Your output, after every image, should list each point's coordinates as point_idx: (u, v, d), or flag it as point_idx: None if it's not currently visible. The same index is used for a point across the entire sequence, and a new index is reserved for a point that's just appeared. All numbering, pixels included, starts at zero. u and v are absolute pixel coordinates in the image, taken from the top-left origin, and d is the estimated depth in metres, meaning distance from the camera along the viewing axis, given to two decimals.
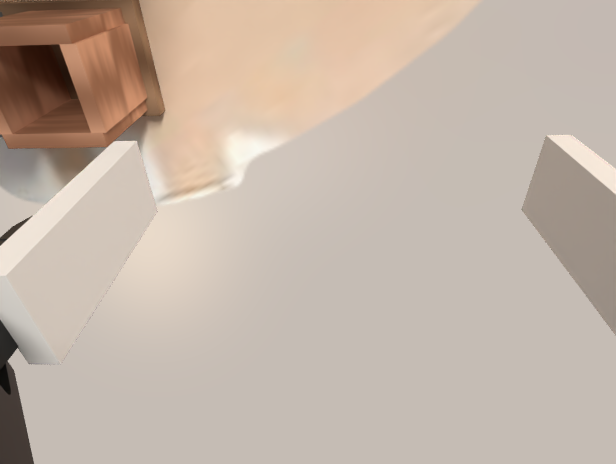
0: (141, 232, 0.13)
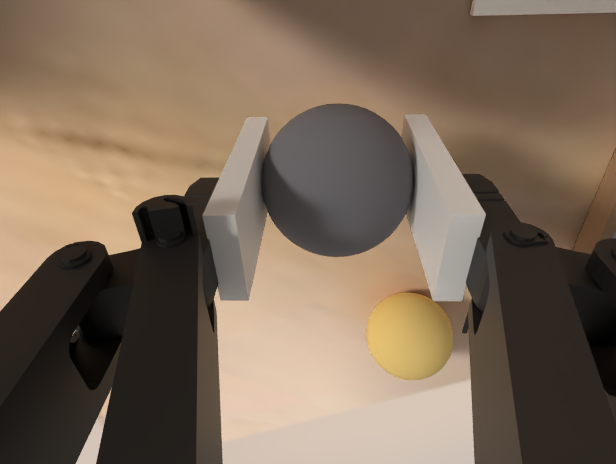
0: None
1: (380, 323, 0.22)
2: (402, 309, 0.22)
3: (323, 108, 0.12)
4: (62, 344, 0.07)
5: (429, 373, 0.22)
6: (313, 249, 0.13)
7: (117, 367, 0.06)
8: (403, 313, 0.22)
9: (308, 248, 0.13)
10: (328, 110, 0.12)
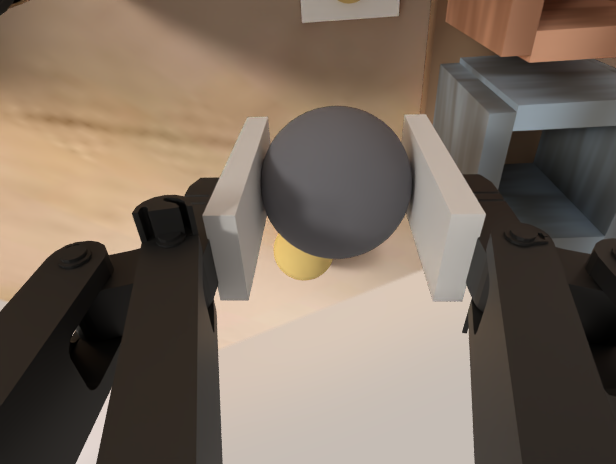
0: None
1: (279, 240, 0.32)
2: None
3: (322, 110, 0.12)
4: (63, 344, 0.07)
5: (314, 272, 0.31)
6: (312, 251, 0.13)
7: (117, 367, 0.06)
8: None
9: (307, 250, 0.13)
10: (326, 112, 0.12)
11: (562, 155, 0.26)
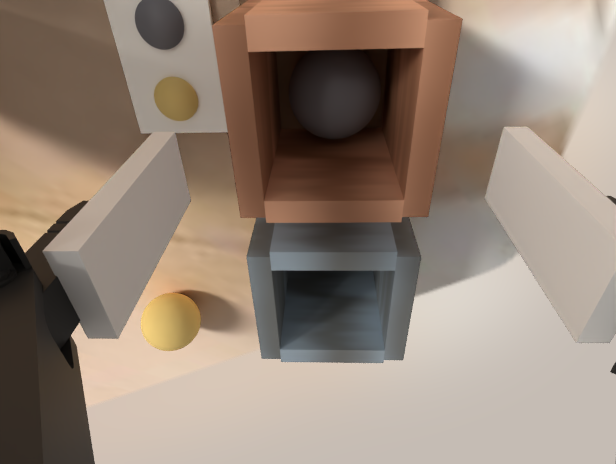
0: (178, 219, 0.14)
1: (143, 314, 0.34)
2: (156, 304, 0.34)
3: None
4: None
5: (173, 346, 0.34)
6: (324, 129, 0.21)
7: None
8: (155, 307, 0.34)
9: (321, 129, 0.21)
10: None
11: None
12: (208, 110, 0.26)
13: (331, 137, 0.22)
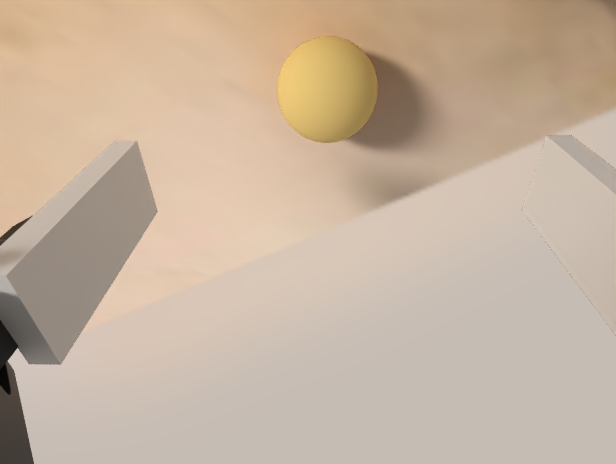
0: (141, 232, 0.13)
1: (288, 62, 0.19)
2: (313, 41, 0.18)
3: None
4: None
5: (345, 116, 0.18)
6: None
7: None
8: (313, 43, 0.18)
9: None
10: None
11: None
12: None
13: None
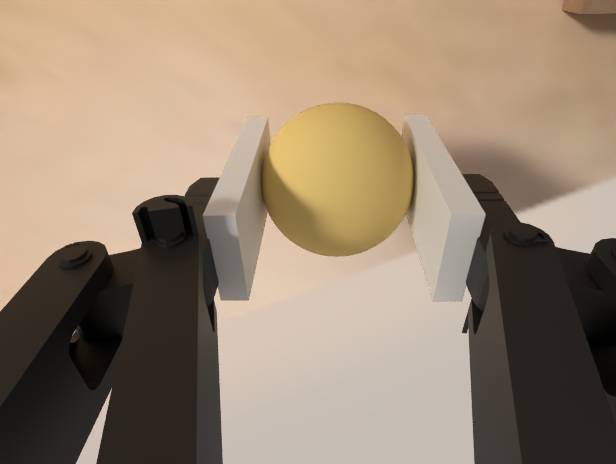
0: None
1: (276, 144, 0.12)
2: (315, 114, 0.12)
3: None
4: (63, 344, 0.07)
5: (365, 232, 0.12)
6: None
7: (118, 367, 0.06)
8: (315, 118, 0.12)
9: None
10: None
11: None
12: None
13: None
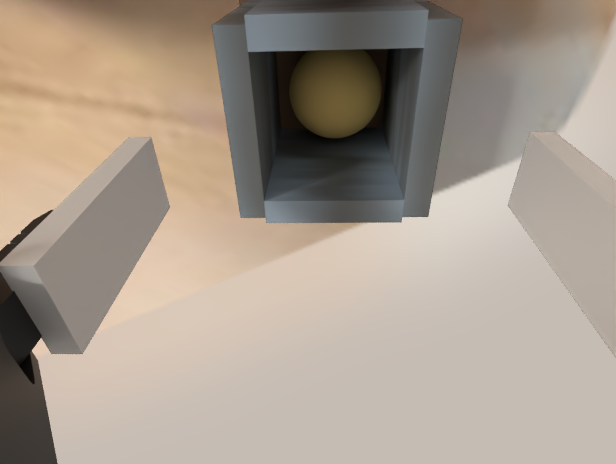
0: (155, 227, 0.13)
1: (301, 65, 0.20)
2: None
3: None
4: None
5: (357, 112, 0.20)
6: None
7: None
8: None
9: None
10: None
11: (390, 112, 0.22)
12: None
13: None
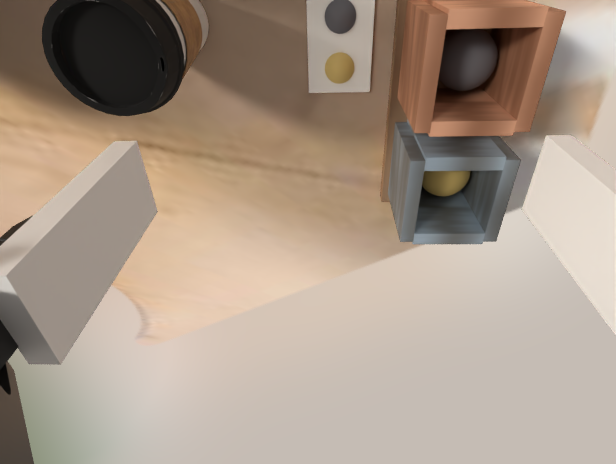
0: (141, 232, 0.13)
1: None
2: None
3: None
4: None
5: (462, 184, 0.39)
6: (467, 82, 0.33)
7: None
8: None
9: (465, 82, 0.33)
10: None
11: (470, 182, 0.40)
12: (359, 76, 0.39)
13: (467, 88, 0.34)
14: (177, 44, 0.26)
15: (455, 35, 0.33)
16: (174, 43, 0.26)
